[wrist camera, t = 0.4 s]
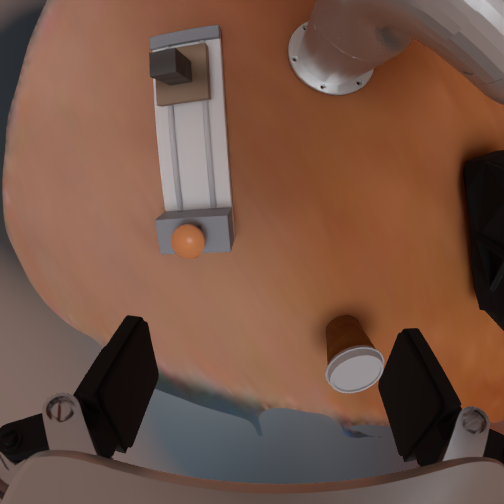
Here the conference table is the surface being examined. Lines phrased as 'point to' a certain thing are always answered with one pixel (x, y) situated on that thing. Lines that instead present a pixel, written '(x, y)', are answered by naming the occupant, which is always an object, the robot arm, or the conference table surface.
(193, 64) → the carriage
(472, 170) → the black hard case
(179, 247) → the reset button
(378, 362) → the disposable coffee cup
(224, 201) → the rail track
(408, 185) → the conference table surface
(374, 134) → the conference table surface
